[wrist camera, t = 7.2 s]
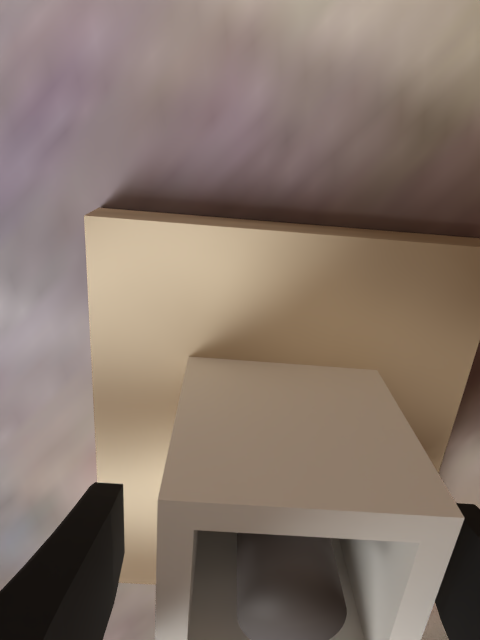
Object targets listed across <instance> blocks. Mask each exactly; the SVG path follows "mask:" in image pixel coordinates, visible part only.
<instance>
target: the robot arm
mask: <svg viewBox="0 0 480 640" xmlns="http://www.w3.org/2000/svg"><path fill="white" fill-rule="evenodd" d="M456 504H457V506H458V508H459V509H460V511H461V513H462V514H463V516H464V518H465V519H464V521H463V524H462V527H461V530H460V533H459V535H458V538H457V541H456V544H455V546H454V549H453V552H452V555H451V558H450V560H449V563H448V566H447V569H446V571H445V574H444V577H443V580H442V583H441V585H440V588H439V591H438V594H437V596H436V599H435V603H436V606H437V609H438V612H439V615H440V619H441V621H442V624H443V626H444V628H445V631H446V633H447V636H448V638H449V640H480V509H479V508H478V507H477V506H475V505H474V504H459V503H456ZM124 554H125V542H124V497H123V484H115V483H98V482H95V483H94V484H92V485H91V486H90V487H89V488H88V490H87V491H86V492H85V494H84V495H83V496H82V498H81V499H80V500H79V501H78V503H77V504H76V505H75V507H74V508H73V509H72V510H71V512H70V513H69V514H68V515H67V517H66V518H65V519H64V520H63V521H62V523H61V524H60V525H59V526H58V527H57V529H56V530H55V531H54V532H53V533H52V535H51V536H50V537H49V538H48V539H47V540H46V542H45V543H44V544H43V545H42V546H41V547H40V548H39V550H38V551H37V552H36V553H35V554H34V555H33V556H32V558H31V559H30V560H29V561H28V562H27V563H26V564H25V565H24V567H23V568H22V569H21V570H20V571H19V572H18V573H17V574H16V575H15V576H14V577H13V578H12V579H11V580H10V581H9V583H8V584H7V585H6V586H5V587H4V588H3V589H2V590H1V591H0V640H103V637H104V633H105V630H106V627H107V624H108V621H109V618H110V614H111V611H112V608H113V605H114V601H115V596H116V592H117V587H118V583H119V578H120V573H121V568H122V563H123V559H124Z"/></svg>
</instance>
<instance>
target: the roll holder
mask: <svg viewBox="0 0 480 640" xmlns="http://www.w3.org/2000/svg"><path fill="white" fill-rule="evenodd" d="M84 222H85V242H86V262H87V282H88V302H89V322H90V343H91V363H92V383H93V403H94V423H95V443H96V463H97V482H98V483H115V484H123V497H124V542H125V554H124V559H123V563H122V568H121V573H120V578H119V583H135V584H155V585H156V558H157V506H158V496H159V491H160V486H161V482H162V477H163V472H164V468H165V463H166V459H167V454H168V449H169V445H170V440H171V435H172V431H173V426H174V421H175V417H176V412H177V407H178V403H179V398H180V394H181V389H182V384H183V380H184V375H185V370H186V366H187V361H188V356H189V357H203V358H217V359H231V360H245V361H259V362H272V363H286V364H300V365H314V366H328V367H342V368H356V369H370V370H377V371H378V372H379V374H380V376H381V377H382V379H383V381H384V382H385V384H386V386H387V387H388V389H389V391H390V393H391V394H392V396H393V398H394V399H395V401H396V403H397V404H398V406H399V408H400V409H401V411H402V413H403V415H404V416H405V418H406V420H407V421H408V423H409V425H410V426H411V428H412V430H413V431H414V433H415V435H416V437H417V438H418V440H419V442H420V443H421V445H422V447H423V448H424V450H425V452H426V453H427V455H428V457H429V459H430V460H431V462H432V464H433V465H434V467H435V469H436V470H437V472H438V473H439V470H440V466H441V463H442V460H443V457H444V454H445V450H446V447H447V444H448V441H449V437H450V434H451V431H452V428H453V425H454V421H455V418H456V415H457V412H458V409H459V405H460V402H461V399H462V396H463V392H464V389H465V386H466V383H467V380H468V376H469V373H470V370H471V367H472V364H473V360H474V357H475V354H476V351H477V347H478V344H479V341H480V238H470V237H458V236H445V235H433V234H420V233H408V232H396V231H383V230H371V229H358V228H346V227H333V226H321V225H308V224H296V223H283V222H271V221H259V220H246V219H234V218H221V217H209V216H196V215H184V214H171V213H159V212H146V211H134V210H122V209H109V208H97V209H96V210H94V211H92V212H90V213H88V214H86V215H85V216H84ZM346 616H347V608H346V603H345V599H344V595H343V590H342V586H341V582H340V577H339V573H338V569H337V564H336V560H335V556H334V551H333V547H332V543H331V538H324V537H306V536H289V535H271V534H254V533H237V619H238V623H239V626H240V628H241V630H242V631H243V633H244V634H245V635H246V636H247V637H248V638H249V639H251V640H330V639H331V638H332V637H334V636H335V635H336V634H337V633H338V632H339V631H340V629H341V628H342V626H343V625H344V623H345V620H346Z"/></svg>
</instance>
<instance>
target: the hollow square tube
mask: <svg viewBox="0 0 480 640" xmlns="http://www.w3.org/2000/svg"><path fill="white" fill-rule="evenodd" d="M464 519H465V518H464V516H463V514H462V513H461V511H460V509H459V508H458V506H457V504H456V503H455V501H454V499H453V497H452V496H451V494H450V492H449V491H448V489H447V487H446V486H445V484H444V482H443V481H442V479H441V477H440V475H439V474H438V472H437V470H436V469H435V467H434V465H433V464H432V462H431V460H430V459H429V457H428V455H427V453H426V452H425V450H424V448H423V447H422V445H421V443H420V442H419V440H418V438H417V437H416V435H415V433H414V431H413V430H412V428H411V426H410V425H409V423H408V421H407V420H406V418H405V416H404V415H403V413H402V411H401V409H400V408H399V406H398V404H397V403H396V401H395V399H394V398H393V396H392V394H391V393H390V391H389V389H388V387H387V386H386V384H385V382H384V381H383V379H382V377H381V376H380V374H379V372H378V371H377V370H370V369H356V368H342V367H328V366H314V365H300V364H286V363H272V362H259V361H245V360H231V359H217V358H203V357H189V356H188V361H187V366H186V370H185V375H184V380H183V384H182V389H181V394H180V398H179V403H178V407H177V412H176V417H175V421H174V426H173V431H172V435H171V440H170V445H169V449H168V454H167V459H166V463H165V468H164V472H163V477H162V482H161V486H160V491H159V496H158V506H157V558H156V611H155V640H251V639H249V638H248V637H247V636H246V635H245V634H244V633H243V631H242V630H241V628H240V626H239V623H238V619H237V533H254V534H271V535H289V536H306V537H324V538H331V543H332V547H333V551H334V556H335V560H336V564H337V569H338V573H339V577H340V582H341V586H342V590H343V595H344V599H345V603H346V608H347V616H346V620H345V623H344V625H343V626H342V628H341V629H340V631H339V632H338V633H337V634H336V635H335V636H334V637H332V638H331V639H330V640H421V638H422V635H423V633H424V630H425V627H426V624H427V621H428V619H429V616H430V613H431V610H432V608H433V605H434V602H435V599H436V596H437V594H438V591H439V588H440V585H441V583H442V580H443V577H444V574H445V571H446V569H447V566H448V563H449V560H450V558H451V555H452V552H453V549H454V546H455V544H456V541H457V538H458V535H459V533H460V530H461V527H462V524H463V521H464Z"/></svg>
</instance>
